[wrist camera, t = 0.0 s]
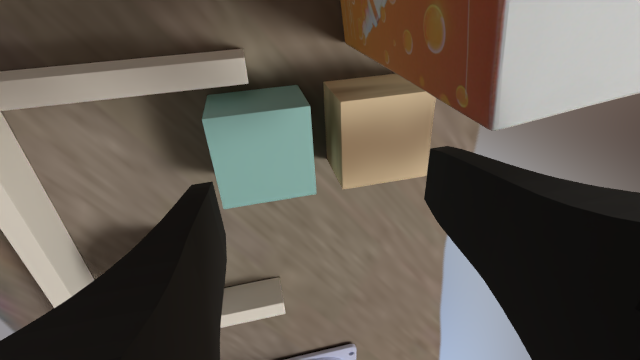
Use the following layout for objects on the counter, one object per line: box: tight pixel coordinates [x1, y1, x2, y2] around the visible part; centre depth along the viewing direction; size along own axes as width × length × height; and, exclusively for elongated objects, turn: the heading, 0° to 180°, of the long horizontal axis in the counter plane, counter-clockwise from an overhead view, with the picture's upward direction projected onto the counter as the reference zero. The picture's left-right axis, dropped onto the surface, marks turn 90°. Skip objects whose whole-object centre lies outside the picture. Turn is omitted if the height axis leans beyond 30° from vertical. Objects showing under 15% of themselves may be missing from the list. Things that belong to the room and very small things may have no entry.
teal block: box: [202, 85, 316, 209], centre depth 19 cm, size 5×5×4 cm
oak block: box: [323, 74, 436, 189], centre depth 20 cm, size 5×5×4 cm
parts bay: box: [0, 49, 286, 328], centre depth 20 cm, size 18×13×2 cm
